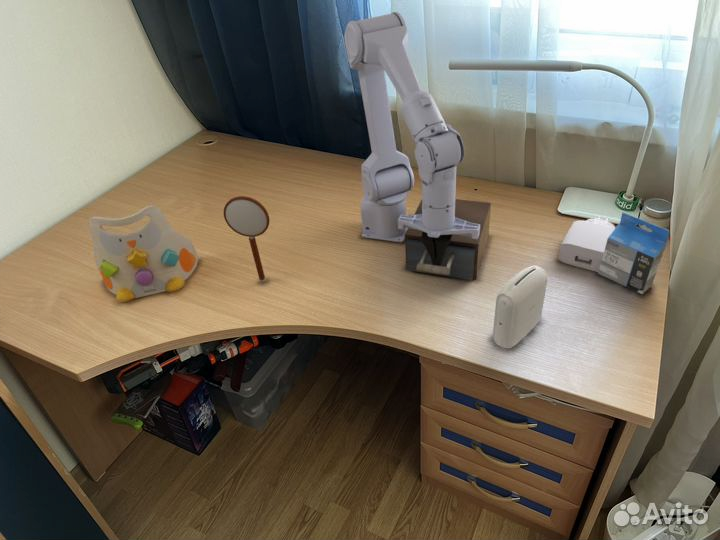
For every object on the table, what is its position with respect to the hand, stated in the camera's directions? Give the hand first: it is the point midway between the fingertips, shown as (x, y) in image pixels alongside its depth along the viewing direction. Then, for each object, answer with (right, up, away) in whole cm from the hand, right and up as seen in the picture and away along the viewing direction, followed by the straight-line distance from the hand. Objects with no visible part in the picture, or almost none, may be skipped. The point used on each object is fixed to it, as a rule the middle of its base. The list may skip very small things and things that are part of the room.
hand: (437, 263), depth 101 cm
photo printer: (+12, -12, -8) cm, 19 cm away
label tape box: (+35, -3, -1) cm, 35 cm away
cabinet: (+4, +2, +10) cm, 11 cm away
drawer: (+2, 0, +6) cm, 7 cm away
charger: (+32, +3, +8) cm, 33 cm away
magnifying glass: (-34, -4, +8) cm, 35 cm away
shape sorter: (-58, -4, +11) cm, 59 cm away
